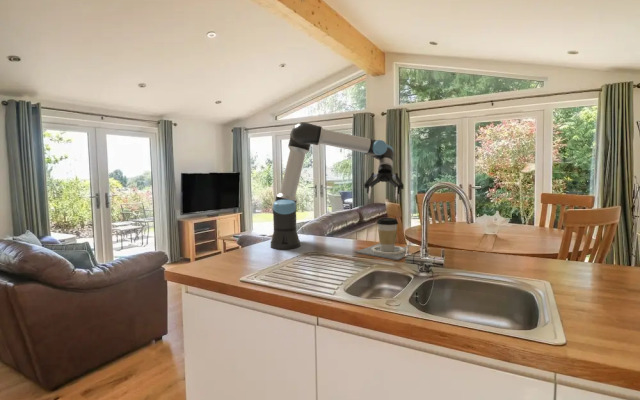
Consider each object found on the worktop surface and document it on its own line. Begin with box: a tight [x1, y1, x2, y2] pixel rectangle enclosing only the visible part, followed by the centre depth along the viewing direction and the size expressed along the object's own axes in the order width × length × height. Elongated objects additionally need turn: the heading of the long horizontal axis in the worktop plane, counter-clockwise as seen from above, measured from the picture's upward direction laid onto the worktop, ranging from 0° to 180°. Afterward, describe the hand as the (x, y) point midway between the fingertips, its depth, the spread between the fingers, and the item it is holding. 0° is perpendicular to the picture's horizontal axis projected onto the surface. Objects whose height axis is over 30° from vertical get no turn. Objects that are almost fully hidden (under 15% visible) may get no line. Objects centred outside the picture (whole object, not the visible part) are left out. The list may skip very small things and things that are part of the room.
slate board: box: [355, 243, 407, 261], centre depth 166 cm, size 22×22×1 cm
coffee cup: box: [376, 217, 399, 252], centre depth 165 cm, size 10×10×15 cm
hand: (382, 197), depth 178 cm, fingers open, 13 cm apart
